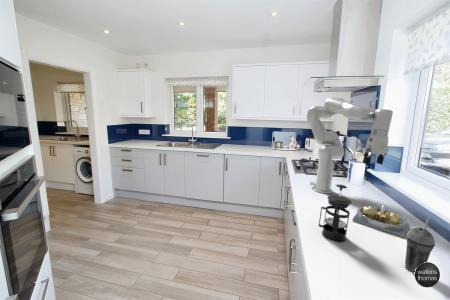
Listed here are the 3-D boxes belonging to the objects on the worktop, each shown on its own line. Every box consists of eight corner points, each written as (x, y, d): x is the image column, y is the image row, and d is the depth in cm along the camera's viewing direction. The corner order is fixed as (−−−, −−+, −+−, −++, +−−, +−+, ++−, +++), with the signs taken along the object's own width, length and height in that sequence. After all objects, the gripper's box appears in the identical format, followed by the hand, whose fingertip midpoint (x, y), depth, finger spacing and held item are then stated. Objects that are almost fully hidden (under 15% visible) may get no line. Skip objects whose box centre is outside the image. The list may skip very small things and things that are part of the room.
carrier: (352, 221, 109) (354, 207, 107) (361, 209, 123) (363, 197, 122) (403, 238, 95) (406, 222, 94) (406, 222, 110) (409, 209, 109)
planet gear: (392, 228, 101) (394, 218, 100) (381, 222, 106) (382, 212, 105) (401, 226, 102) (403, 216, 101) (389, 220, 108) (391, 211, 107)
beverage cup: (394, 263, 78) (405, 211, 75) (413, 262, 79) (424, 211, 76) (413, 278, 71) (426, 222, 68) (433, 278, 72) (447, 222, 68)
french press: (347, 234, 96) (355, 184, 92) (348, 245, 88) (357, 191, 84) (318, 226, 101) (325, 179, 97) (317, 236, 93) (324, 185, 89)
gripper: (373, 133, 109) (366, 166, 113) (398, 134, 115) (390, 165, 118) (360, 131, 116) (354, 162, 120) (384, 132, 122) (378, 161, 125)
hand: (372, 163), depth 119 cm, fingers open, 9 cm apart
